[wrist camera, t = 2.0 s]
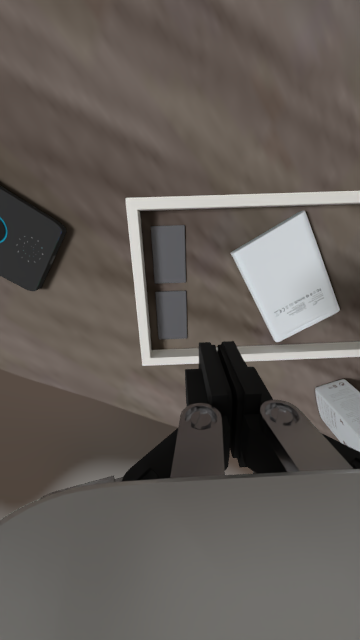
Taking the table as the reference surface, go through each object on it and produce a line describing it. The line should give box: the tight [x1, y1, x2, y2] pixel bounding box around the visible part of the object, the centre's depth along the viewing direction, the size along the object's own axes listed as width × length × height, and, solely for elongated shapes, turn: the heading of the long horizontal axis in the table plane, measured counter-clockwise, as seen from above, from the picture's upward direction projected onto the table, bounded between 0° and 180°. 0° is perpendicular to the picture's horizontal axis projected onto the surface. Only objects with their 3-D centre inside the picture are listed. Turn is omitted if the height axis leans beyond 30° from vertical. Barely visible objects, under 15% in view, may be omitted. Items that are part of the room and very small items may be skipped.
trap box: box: [125, 191, 360, 366], centre depth 26 cm, size 18×33×4 cm, turn 92°
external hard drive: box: [231, 211, 340, 342], centre depth 27 cm, size 2×8×12 cm
